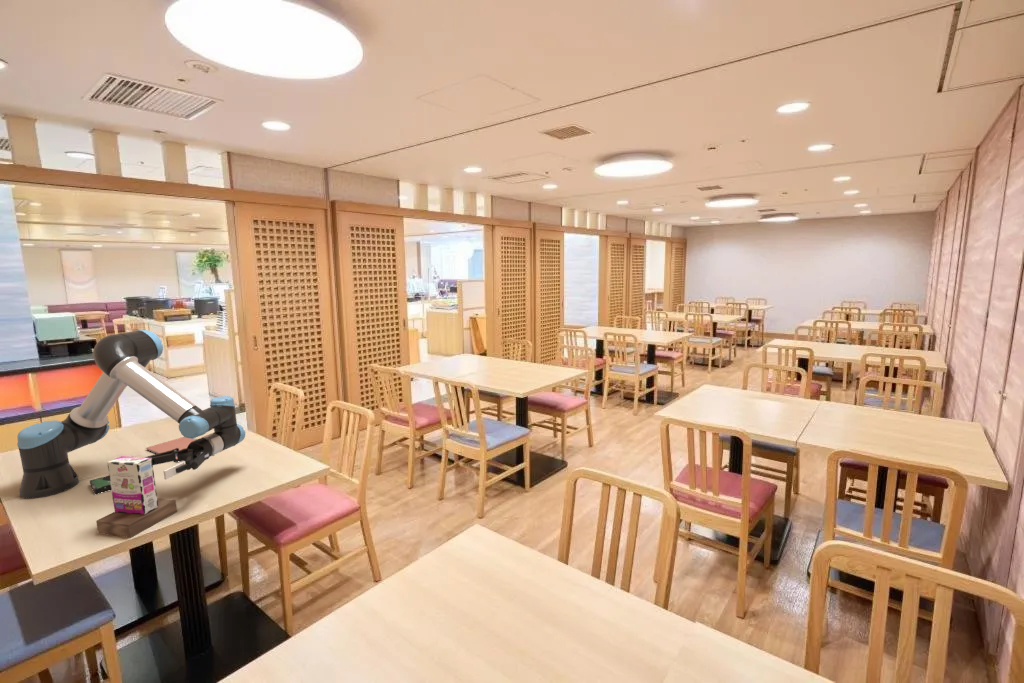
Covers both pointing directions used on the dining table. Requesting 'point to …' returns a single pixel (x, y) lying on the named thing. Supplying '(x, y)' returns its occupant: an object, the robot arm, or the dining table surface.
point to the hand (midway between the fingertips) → (147, 473)
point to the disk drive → (100, 484)
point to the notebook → (171, 445)
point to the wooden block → (135, 520)
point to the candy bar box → (133, 485)
